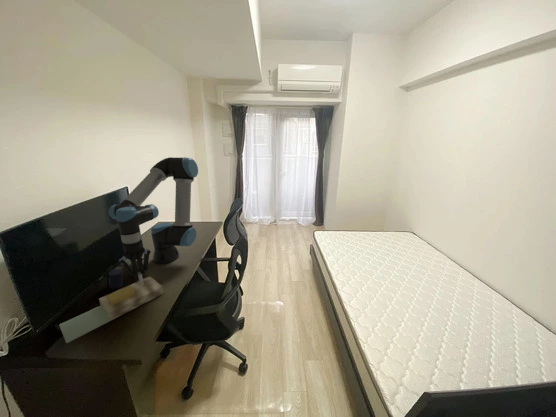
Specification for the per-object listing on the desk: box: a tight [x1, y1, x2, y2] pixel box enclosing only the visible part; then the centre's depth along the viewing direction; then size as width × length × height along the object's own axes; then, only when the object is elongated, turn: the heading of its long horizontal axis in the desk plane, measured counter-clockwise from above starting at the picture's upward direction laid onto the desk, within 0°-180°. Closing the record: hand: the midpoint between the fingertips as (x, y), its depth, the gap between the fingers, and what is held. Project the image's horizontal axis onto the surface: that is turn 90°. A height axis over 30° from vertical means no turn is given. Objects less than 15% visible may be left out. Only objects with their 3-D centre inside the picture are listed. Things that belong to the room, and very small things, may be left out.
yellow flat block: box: [107, 285, 135, 305], centre depth 100 cm, size 9×6×2 cm, turn 142°
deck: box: [98, 276, 165, 321], centre depth 104 cm, size 22×14×4 cm, turn 142°
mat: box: [58, 305, 112, 344], centre depth 91 cm, size 14×14×1 cm
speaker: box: [106, 265, 124, 290], centre depth 113 cm, size 8×6×10 cm
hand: (141, 285), depth 106 cm, fingers closed
